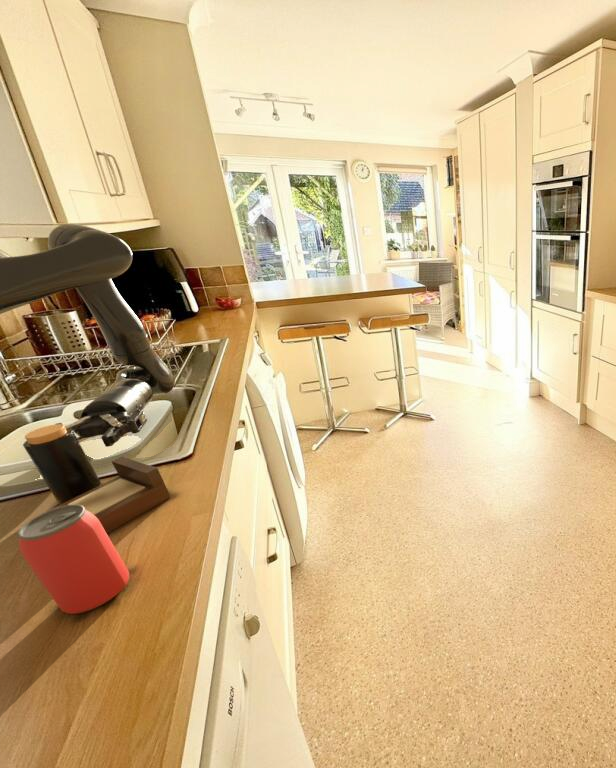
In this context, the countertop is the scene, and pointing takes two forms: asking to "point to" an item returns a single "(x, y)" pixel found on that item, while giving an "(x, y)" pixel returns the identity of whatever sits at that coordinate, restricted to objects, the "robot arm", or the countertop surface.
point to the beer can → (73, 558)
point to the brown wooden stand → (124, 494)
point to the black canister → (61, 462)
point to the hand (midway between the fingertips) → (75, 447)
